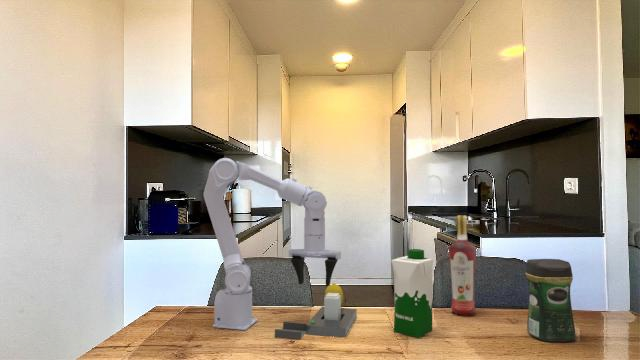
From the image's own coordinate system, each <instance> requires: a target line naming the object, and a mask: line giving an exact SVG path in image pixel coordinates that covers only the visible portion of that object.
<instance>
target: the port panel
mask: <svg viewBox="0 0 640 360" xmlns="http://www.w3.org/2000/svg"><path fill="white" fill-rule="evenodd" d="M357 312H358V311H357V308H348V307H347V308H346V307H341V321H338V320H325V319H324V306H321V307H320V308H319V310H318V311H317V312H316V313H315V314H314V315H313V317H312V318H311V319H310V320H309V321H308V322H306V323H307V325H306V333H305V335H308V336H309V335H311V336H320V337H321V336H322V337H330V336H332V337H333V336H334V337H333V338H341V337H346V336H348V335H349V333H350V331H351V329H352V327H353V325H354V323H355V321H354V320H356V319H357V318H358V317H357V314H358V313H357ZM353 322H354V323H353ZM352 324H353V325H352ZM351 326H352V327H351ZM350 328H351V329H350ZM349 330H350V331H349ZM348 332H349V333H348ZM347 334H348V335H347ZM346 338H347V337H346Z"/></svg>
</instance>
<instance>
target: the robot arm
mask: <svg viewBox="0 0 640 360" xmlns="http://www.w3.org/2000/svg"><path fill="white" fill-rule="evenodd" d="M238 180H239V181H253V182H255V183H258V184H260V185H262V186H264V187H267V188H269V189H272V190H275V191H276V192H277V193H278V197H279V198H281V199H283V200H284V201H288V202H289V203H291V204H293V205H295V206H298V207H303V208H304V219H303V225H304V226H303V229H304V230H303V231H304V232H303V240H304V241H303V242H304V243H303V244H304V245H303V248H296V249H295V248H292V249H291V248H290V249H288V258H291V259H290V261H291V262H290V263H291V264H292V266H293V267H294V271H295V273H296V276H297V280H298V285H302V284H303V283H304V281H305V279H304V278H305V277H304V276H305V275H304V271H305V269H304V266H305V260H306V259H305V258H311V259H314V258H315V259H325V260H324V264H325V287H328V286H329V285H331V280H332V275H333V273H334V270H335V268H336V265H337V263H338V260H340V259H342V251H341V250H329V249H326V218H325V213H326V212H325V209H326V207H327V205H328V202H327V198H326V196H325V195H324V193H322V192H321V191H318V190H313V187H312V186H310V185H309V186H306V185H304V184H302V183H300V182H298V180H297V178H294V177H292V179H291V178H286V179H279V178H277V177H275V176H273V175H270V174H269V173H267V172H265V171H263V170H261V169H259V168H256V167H254V166H252V165H250V164H247V163H243V162H241V161H237V160H236V161H234V160H233V159H231V158H228V157H223V158H219V159H218V160H217V161H215V163H214V164H213V165H212V166H211V167H210V170H209V171H208V176H207V181H206V183H205V186H204V187H205V188H204V190H203V193H202V194H203V200H204V202H205V205H206V207H207V212H208V215H209V218H210V221H211V224H212V228H213V231H214V234H215V237H216V241H217V242H218V243H217V244H218V247H219V249H220V254H221V256H222V260H223V268H224V271H225V278H224V284H225V286H226V287H225V288H224V289H220V290H218V292H217V293H216V295H215V298H214V301H213V302H214V304H213V305H214V306H213V307H214V308H213V309H214V312H213V313H214V319H213V320H214V323H213V325H212V328H218V329H219V328H220V329H228V330H239V331H240V330H241V331H247V330H248V329H249V328H250V327H251V326H253V325H254V324H255V323H257V322H258V321H259V319H258V318H254V317H253V287H252V285H250V284H251V277H252V269H251V267H250V266H249V265H248V264H247V263H246V262H245V259H244V257H243V255H242V252H241V250H240V247H239V243H238V240H237V237H236V234H235V231H234V227H233V225H232V221H231V218H230V214H229V212H228V208H227V206H226V202H225V198H224V196H225V194H226V193H227V191H228V190H229V188H230V187H231V186H232V185H233V184H234V183H235V182H236V181H238Z"/></svg>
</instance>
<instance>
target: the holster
mask: <svg viewBox="0 0 640 360" xmlns="http://www.w3.org/2000/svg"><path fill="white" fill-rule="evenodd" d="M307 323H308V322H297V321H290V320H289V321H288V320H287V321H286V320H284V321H283V322H282V327H283V328H275V329H274V338H277V339H288V340H298V341H301V339H303V337H304V336H305V335H306V325H307Z"/></svg>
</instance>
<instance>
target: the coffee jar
mask: <svg viewBox="0 0 640 360" xmlns="http://www.w3.org/2000/svg"><path fill="white" fill-rule="evenodd" d="M525 264H526V265H525V266H526V267H525V277H526V279H527V282H528V287H529V289H528V291H529V297H528V308H527V311H528V312H527V324H526V325H527V326H526V327H527V328H526V330H527V332H528V333H529V335H530V336H531V337H534V339H539V340H541V341H544V342H570V341H571V342H572V341H575V339H576V329H575V328H576V327H575V321H574V316H573V308H572V299H571V286H572V283H573V279H574V276H573V272H572V265H571V264H570V262H569V261H566V260H563V259H559V258H535V259H534V258H533V259H527V260H526V263H525Z"/></svg>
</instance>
